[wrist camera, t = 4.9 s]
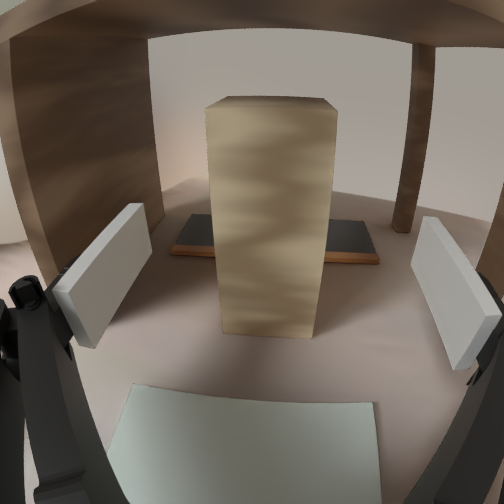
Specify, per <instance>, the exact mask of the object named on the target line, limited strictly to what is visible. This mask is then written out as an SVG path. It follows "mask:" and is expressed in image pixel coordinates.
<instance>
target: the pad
mask: <svg viewBox="0 0 504 504" xmlns="http://www.w3.org/2000/svg"><path fill="white" fill-rule="evenodd" d="M106 455H107V457H108V460H109V462H110V464H111V467H112V469H113V471H114V473H115V476H116V478H117V480H118V482H119V484H120V487H121V489H122V491H123V493H124V495H125V497H126V498H127V500H128V501H129V503H130V504H382V499H381V482H380V468H379V456H378V446H377V436H376V427H375V418H374V410H373V403H372V402H363V403H293V402H272V401H257V400H244V399H234V398H224V397H215V396H207V395H199V394H192V393H185V392H179V391H172V390H166V389H161V388H155V387H150V386H144V385H139V384H134V383H133V386H132V388H131V391H130V393H129V396H128V398H127V401H126V403H125V406H124V409H123V411H122V414H121V416H120V419H119V422H118V424H117V427H116V430H115V432H114V435H113V438H112V440H111V443H110V446H109V449H108V451H107V454H106Z"/></svg>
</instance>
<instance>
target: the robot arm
mask: <svg viewBox="0 0 504 504" xmlns="http://www.w3.org/2000/svg"><path fill="white" fill-rule="evenodd" d="M151 254H152V247H151V242H150V237H149V232H148V227H147V221H146V216H145V210H144V205H143V203H129V204H128V205H127V206H126V207H125V208H124V209H123V210H122V211H121V212H120V213H119V214H118V215H117V216H116V218H115V219H114V220H113V221H112V222H111V223H110V224H109V225H108V226H107V227H106V228H105V229H104V230H103V231H102V232H101V233H100V235H99V236H98V237H97V238H96V239H95V240H94V241H93V242H92V243H91V244H90V246H89V247H88V248H87V249H86V250H85V251H84V252H83V253H80V254H79V255H77V256H76V257H74V258H73V259H71V260H70V261H69V263H68V264H67V265H66V266H65V268H64V269H63V270H62V271H61V272H60V273H59V275H57V277H56V278H55V279H54V280H53V281H52V283H51V284H50V285H49V286H48V287H47V289H46V290H45V291H43V289H42V286H41V284H40V282H39V280H38V277H36V276H34V275H28V276H24V277H22V278H20V279H18V280H17V281H16V282H14V283H13V284H12V286H11V287H10V289H9V292H8V293H9V295H10V297H11V299H12V301H13V302H14V304H15V306H16V308H7V306H6V304H5V302H4V300H2V299H0V353H1V351H2V352H3V356H2V358H1V354H0V504H26V503H25V488H24V425H25V418H26V424H27V430H28V435H29V440H30V445H31V450H32V454H33V458H34V462H35V466H36V470H37V474H38V478H39V486H38V487H37V488H35V489H34V493H33V496H34V501H35V504H130V503H129V501H128V500H127V498H126V497H125V495H124V493H123V491H122V489H121V487H120V484H119V482H118V480H117V478H116V476H115V473H114V471H113V469H112V467H111V464H110V462H109V460H108V457H107V455H106V452H105V450H104V447H103V445H102V442H101V440H100V437H99V434H98V432H97V429H96V426H95V423H94V420H93V417H92V415H91V412H90V409H89V405H88V402H87V399H86V396H85V393H84V389H83V386H82V383H81V379H80V375H79V372H78V368H77V364H76V360H75V356H74V352H73V348H72V346H71V344H70V342H69V341H70V340H71V338H72V336H73V335H74V337H75V339H76V341H77V343H78V344H79V346H83V347H88V348H92V349H95V348H96V346H97V344H98V342H99V340H100V339H101V337H102V335H103V333H104V331H105V330H106V328H107V326H108V324H109V323H110V321H111V319H112V317H113V316H114V314H115V312H116V311H117V309H118V307H119V305H120V304H121V302H122V300H123V299H124V297H125V295H126V294H127V292H128V290H129V289H130V287H131V286H132V284H133V282H134V281H135V279H136V277H137V276H138V274H139V273H140V271H141V269H142V268H143V266H144V265H145V263H146V261H147V260H148V258H149V257H150V255H151ZM410 265H411V267H412V270H413V272H414V274H415V276H416V278H417V281H418V283H419V285H420V287H421V290H422V292H423V294H424V296H425V299H426V301H427V303H428V306H429V308H430V311H431V313H432V316H433V318H434V321H435V323H436V326H437V328H438V331H439V333H440V336H441V339H442V341H443V344H444V347H445V350H446V352H447V355H448V358H449V361H450V364H451V367H452V370H453V371H457V370H466V369H469V368H470V367H471V365H472V364H473V362H474V361H475V359H477V361H478V364H479V367H478V369H477V370H476V372H475V373H474V374H473V376H472V377H471V378H470V380H469V381H468V382H467V384H466V385H469V384H470V386H469V388H468V390H467V392H466V395H465V397H464V399H463V401H462V403H461V406H460V408H459V410H458V412H457V414H456V416H455V418H454V420H453V422H452V424H451V426H450V428H449V430H448V432H447V434H446V435H445V437H444V439H443V441H442V443H441V444H440V446H439V448H438V450H437V451H436V453H435V455H434V457H433V458H432V460H431V462H430V463H429V465H428V466H427V468H426V470H425V471H424V473H423V474H422V476H421V477H420V479H419V481H418V482H417V484H416V485H415V486H414V488H413V489H412V491H411V492H410V494H409V495H408V497H407V498H406V499H405V501H404V502H403V503H402V504H483V502H484V500H485V498H486V496H487V494H488V492H489V490H490V488H491V486H492V483H493V481H494V479H495V476H496V474H497V472H498V469H499V467H500V464H501V462H502V459H503V457H504V304H503V302H502V301H501V299H500V297H498V294H497V293H496V291H495V290H494V288H493V286H492V285H491V283H490V282H489V280H488V279H487V278H486V277H484V276H483V275H482V274H481V273H477V272H476V271H475V269H474V268H473V266H472V265H471V263H470V262H469V260H468V259H467V257H466V256H465V254H464V253H463V251H462V250H461V249H460V247H459V246H458V244H457V243H456V242H455V240H454V239H453V238H452V236H451V235H450V233H449V232H448V231H447V229H446V228H445V227H444V225H443V224H442V223H441V222H440V220H439V219H438V218H437V217H430V216H423V220H422V224H421V228H420V232H419V236H418V239H417V243H416V247H415V250H414V254H413V257H412V261H411V264H410ZM498 504H504V479H503V484H502V489H501V493H500V497H499V502H498Z"/></svg>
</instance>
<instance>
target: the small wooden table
mask: <svg viewBox="0 0 504 504" xmlns="http://www.w3.org/2000/svg"><path fill="white" fill-rule="evenodd" d="M242 28H243V29H246V28H293V29H313V30H326V31H336V32H345V33H353V34H361V35H368V36H375V37H380V38H386V39H391V40H396V41H401V42H406V43H411V44H413V45H412V46H413V47H412V73H411V90H410V102H409V113H408V123H407V132H406V141H405V148H404V155H403V163H402V169H401V175H400V181H399V187H398V193H397V198H396V204H395V209H394V214H393V219H392V226H393V227H394V229H395V231H397V232H410V230H411V226H412V222H413V218H414V213H415V209H416V204H417V199H418V194H419V190H420V184H421V179H422V174H423V168H424V161H425V156H426V149H427V142H428V135H429V128H430V119H431V110H432V100H433V87H434V73H435V48H436V47H489V48H504V0H27V1H25V2H23V3H21V4H19V5H18V6H16V7H14V8H12V9H11V10H9V11H7V12H6V13H4V14H2V15H1V16H0V137H1V143H2V148H3V152H4V157H5V162H6V166H7V170H8V174H9V178H10V182H11V186H12V189H13V193H14V196H15V200H16V203H17V207H18V210H19V213H20V216H21V219H22V223H23V225H24V228H25V231H26V234H27V237H28V240H29V243H30V245H31V248H32V251H33V253H34V256H35V259H36V261H37V264H38V266H39V269H40V271H41V273H42V276H43V278H44V281H45V283H46V285H47V287H48V286H49V285H50V284H51V283H52V281H53V280H54V279H55V278H56V277H57V275H59V273H60V272H61V271H62V270H63V269H64V268H65V266H66V265H67V264H68V263H69V261H70V260H71V259H73V258H74V257H76V256H77V255H79V254H80V253H83V252H84V251H85V250H86V249H87V248H88V247H89V246H90V244H91V243H92V242H93V241H94V240H95V239H96V238H97V237H98V236H99V235H100V233H101V232H102V231H103V230H104V229H105V228H106V227H107V226H108V225H109V224H110V223H111V222H112V221H113V220H114V219H115V218H116V216H117V215H118V214H119V213H120V212H121V211H122V210H123V209H124V208H125V207H126V206H127V205H128V204H129V203H143V205H144V210H145V216H146V221H147V227H148V232H149V235H150V234H151V233H152V231H153V230H154V228H155V227H156V226H157V224H158V223H159V221H160V220H161V219H162V217H163V216H164V215H165V213H164V206H163V199H162V192H161V185H160V177H159V170H158V162H157V153H156V144H155V135H154V125H153V115H152V104H151V91H150V77H149V60H148V39H151V38H156V37H162V36H169V35H176V34H183V33H192V32H200V31H212V30H224V29H242ZM171 254H172V255H192V256H212V257H215V247H214V236H213V224H212V215H203V214H192V215H191V217H190V219H189V220H188V222H187V224H186V225H185V227H184V229H183V231H182V232H181V234H180V236H179V238H178V239H177V241H176V243H175V245H173V247H172V248H171ZM324 262H342V263H365V264H379V257H378V254H377V253H376V251H375V248H374V246H373V243H372V241H371V238H370V235H369V233H368V231H367V228H366V226H365V223H364V221H350V220H333V219H329V223H328V232H327V240H326V248H325V256H324ZM475 271H476V272H477V273H481V274H482V275H483V276H484V277H486V278H487V279H488V280H489V282H490V283H491V285H492V286H493V288H494V290H495V291H496V293H497V294H498V297H500V299H502V297H503V295H504V184H503V188H502V191H501V195H500V199H499V202H498V206H497V209H496V213H495V216H494V220H493V223H492V226H491V229H490V232H489V235H488V238H487V241H486V243H485V246H484V249H483V252H482V254H481V257H480V260H479V262H478V265H477V268H476V270H475Z"/></svg>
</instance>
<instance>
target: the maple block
mask: <svg viewBox="0 0 504 504" xmlns="http://www.w3.org/2000/svg"><path fill="white" fill-rule="evenodd" d="M337 115H338V111H337V110H336V109H335V108H334V107H333V106H332V105H331V104H329V103H328V102H327V101H326V100H325V99H324V98H311V97H289V96H227V97H225V98H224V99H222V100H220V101H218V102H216V103H214V104H212V105H210V106H209V107H207V108H205V123H206V140H207V155H208V156H207V157H208V171H209V186H210V199H211V212H212V224H213V236H214V247H215V258H216V269H217V279H218V289H219V299H220V308H221V318H222V327H223V333H225V334H238V335H251V336H267V337H286V338H311V339H312V335H313V329H314V323H315V317H316V311H317V305H318V298H319V292H320V285H321V278H322V271H323V263H324V256H325V248H326V240H327V232H328V223H329V214H330V204H331V194H332V184H333V173H334V160H335V146H336V132H337Z"/></svg>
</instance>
